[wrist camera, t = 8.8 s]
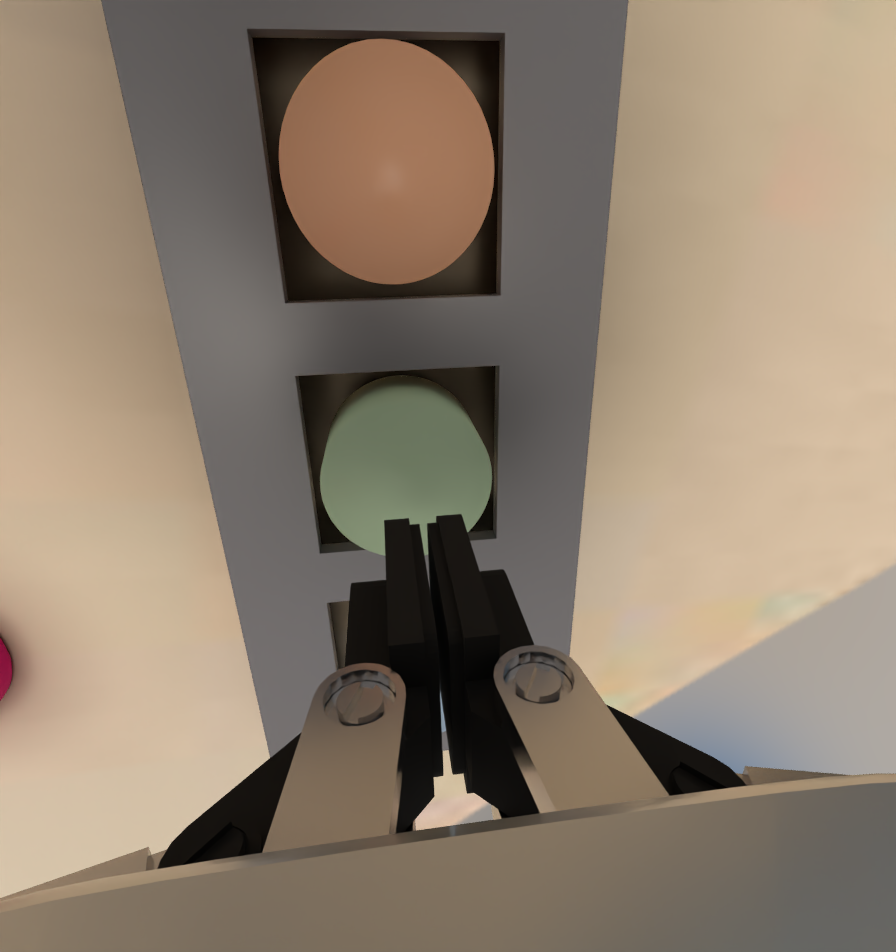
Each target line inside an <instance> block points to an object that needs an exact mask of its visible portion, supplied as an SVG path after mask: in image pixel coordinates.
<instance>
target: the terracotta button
mask: <svg viewBox="0 0 896 952" xmlns="http://www.w3.org/2000/svg"><path fill="white" fill-rule="evenodd" d="M279 168H280V176H281V182H282V187H283V191H284V194H285V197H286V200H287V204H288V206H289V208H290V211H291V213H292V215H293V217H294V219H295V221H296V223H297V225H298V226H299V228H300V230H301V231H302V233H303V234H304V236H305V237H306V238H307V240H308V241H309V242H310V244H311V245H312V246H313V247H314V248H315V249H316V250H317V251H318V252H319V253H320V254H321V255H322V256H323V257H324V258H326V259H327V260H328V261H329V262H330V263H332V264H333V265H335V266H336V267H338V268H339V269H341V270H342V271H344V272H346V273H348V274H350V275H352V276H355V277H357V278H360V279H363V280H366V281H369V282H374V283H380V284H405V283H411V282H415V281H419V280H423V279H425V278H428V277H430V276H433V275H435V274H436V273H438V272H440V271H442V270H443V269H445V268H446V267H448V266H449V265H450V264H452V263H453V262H454V261H455V260H456V259H457V258H458V257H459V256H460V255H461V254H462V253H463V252H464V251H465V250H466V249H467V248H468V246H469V245H470V244H471V243H472V241H473V240H474V238H475V236H476V235H477V233H478V231H479V230H480V228H481V226H482V223H483V221H484V219H485V217H486V214H487V211H488V208H489V204H490V201H491V196H492V190H493V184H494V153H493V147H492V140H491V136H490V132H489V129H488V125H487V122H486V120H485V117H484V115H483V112H482V110H481V107H480V106H479V104H478V102H477V100H476V98H475V97H474V95H473V93H472V92H471V90H470V89H469V88H468V86H467V85H466V83H465V82H464V81H463V79H462V78H461V77H460V76H459V75H458V74H457V73H456V72H455V71H454V70H453V69H452V68H451V67H450V66H449V65H447V64H446V63H445V62H444V61H443V60H441V59H440V58H439V57H437V56H435V55H434V54H432V53H430V52H429V51H427V50H425V49H423V48H420V47H418V46H416V45H413V44H410V43H406V42H403V41H399V40H391V39H368V40H363V41H358V42H354V43H351V44H348V45H346V46H343V47H341V48H339V49H337V50H335V51H333V52H332V53H330V54H329V55H327V56H325V57H324V58H323V59H322V60H320V61H319V62H318V63H317V64H316V65H315V66H314V67H312V69H311V70H310V71H309V72H308V73H307V74H306V76H305V77H304V78H303V79H302V81H301V82H300V84H299V85H298V87H297V88H296V90H295V92H294V93H293V96H292V98H291V100H290V102H289V104H288V107H287V109H286V113H285V116H284V119H283V122H282V128H281V133H280V139H279Z"/></svg>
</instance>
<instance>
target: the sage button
mask: <svg viewBox="0 0 896 952" xmlns="http://www.w3.org/2000/svg"><path fill="white" fill-rule="evenodd" d="M491 485H492V468H491V463H490V458H489V455H488V453H487V450H486V448H485V446H484V444H483V442H482V440H481V438H480V436H479V434H478V433H477V431H476V429H475V427H474V425H473V423H472V421H471V419H470V418H469V416H468V414H467V412H466V410H465V408H464V407H463V406H462V404H461V403H460V401H459V400H458V399H457V398H456V397H455V396H454V395H453V394H452V393H450V392H449V391H448V390H447V389H445V388H444V387H442V386H440V385H439V384H437V383H435V382H432V381H430V380H427V379H424V378H420V377H415V376H404V375H398V376H389V377H385V378H381V379H377V380H375V381H372V382H370V383H368V384H366V385H364V386H362V387H360V388H359V389H358V390H356V391H355V392H354V393H352V394H351V395H350V396H349V397H348V398H347V399H346V400H345V401H344V402H343V404H342V405H341V406H340V408H339V409H338V411H337V413H336V414H335V416H334V419H333V421H332V424H331V427H330V431H329V435H328V440H327V444H326V449H325V453H324V458H323V462H322V467H321V474H320V490H321V496H322V500H323V503H324V506H325V509H326V511H327V513H328V515H329V517H330V519H331V520H332V522H333V523H334V525H335V526H336V527H337V528H338V530H339V531H340V532H341V533H342V534H343V535H344V536H345V537H347V538H348V539H349V540H350V541H352V542H353V543H355V544H356V545H358V546H360V547H361V548H364V549H366V550H368V551H370V552H373V553H376V554H379V555H384V556H385V532H384V520H392V519H404V518H409V521H410V525H411V524H420V530H421V537H422V543H423V549H424V555H428V538H427V523H436V516H442V515H454V514H461V515H462V517H463V520H464V523H465V526H466V530H467V533H468V532H469V531H470V529H471V528H472V527H473V526H474V525H475V524H476V522H477V521H478V520H479V518H480V517H481V515H482V513H483V511H484V509H485V507H486V505H487V502H488V499H489V496H490V492H491Z"/></svg>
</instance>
